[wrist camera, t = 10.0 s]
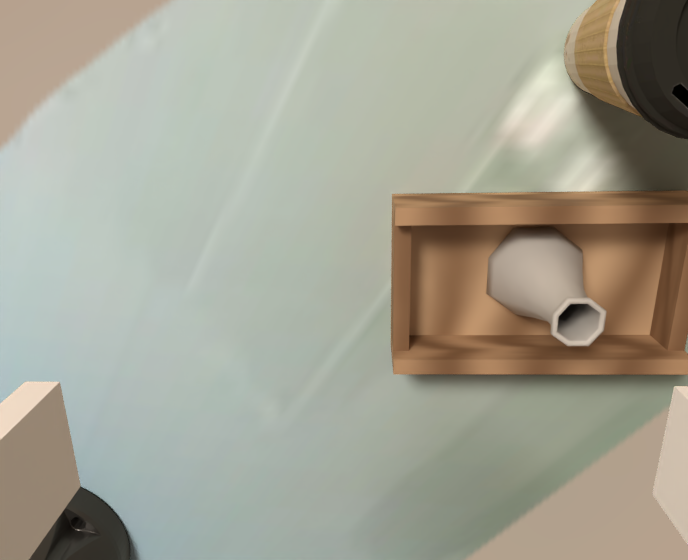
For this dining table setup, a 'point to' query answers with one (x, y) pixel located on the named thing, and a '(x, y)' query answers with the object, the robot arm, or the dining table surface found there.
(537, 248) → the flask
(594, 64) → the coffee cup
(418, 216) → the wooden tray
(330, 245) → the dining table surface
